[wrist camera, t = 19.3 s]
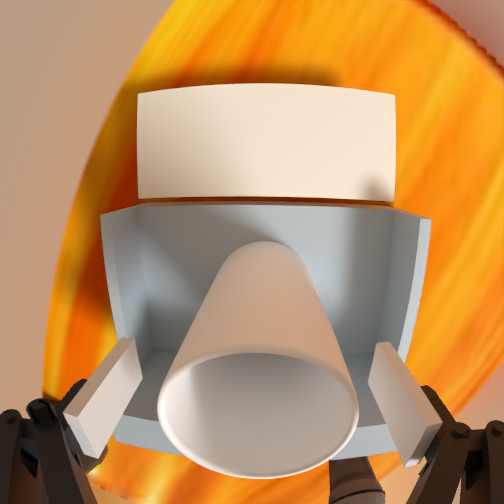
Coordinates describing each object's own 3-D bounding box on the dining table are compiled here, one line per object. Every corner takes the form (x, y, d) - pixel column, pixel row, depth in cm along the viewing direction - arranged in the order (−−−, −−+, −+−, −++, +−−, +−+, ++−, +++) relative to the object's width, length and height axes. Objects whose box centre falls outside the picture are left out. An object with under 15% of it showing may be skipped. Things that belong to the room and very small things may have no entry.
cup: (214, 241, 25) (136, 339, 10) (313, 240, 25) (378, 342, 9) (219, 328, 27) (175, 471, 12) (309, 329, 27) (340, 475, 11)
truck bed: (149, 356, 33) (100, 437, 20) (131, 203, 29) (41, 227, 15) (377, 360, 32) (419, 445, 18) (401, 206, 27) (488, 233, 14)
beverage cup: (325, 426, 35) (345, 553, 15) (374, 424, 34) (410, 539, 15) (314, 455, 36) (325, 567, 17) (358, 453, 36) (382, 558, 17)
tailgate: (138, 198, 23) (137, 93, 21) (143, 197, 25) (143, 96, 22) (393, 201, 22) (394, 95, 20) (388, 199, 23) (389, 97, 21)
